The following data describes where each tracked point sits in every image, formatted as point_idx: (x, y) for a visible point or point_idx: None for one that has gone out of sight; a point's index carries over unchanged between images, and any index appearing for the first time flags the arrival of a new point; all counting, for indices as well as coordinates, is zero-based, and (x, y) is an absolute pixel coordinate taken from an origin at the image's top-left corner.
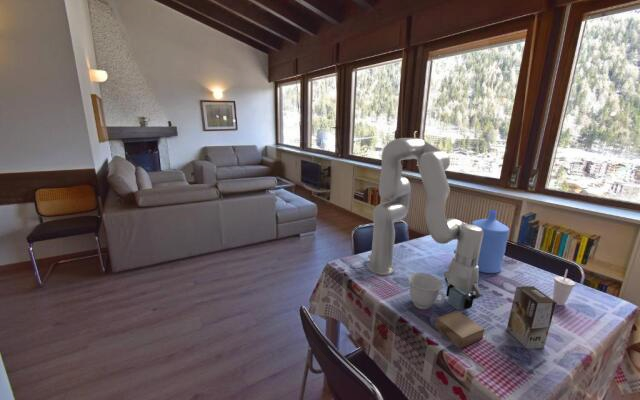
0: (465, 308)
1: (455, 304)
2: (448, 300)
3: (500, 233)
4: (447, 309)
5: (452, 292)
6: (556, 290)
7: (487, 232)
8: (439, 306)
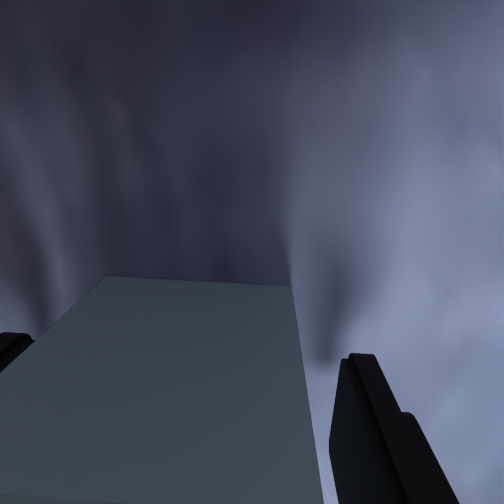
0: (1, 339)
1: (145, 301)
2: (281, 300)
3: None
4: (157, 138)
5: (212, 437)
6: None
7: None
8: (263, 75)
